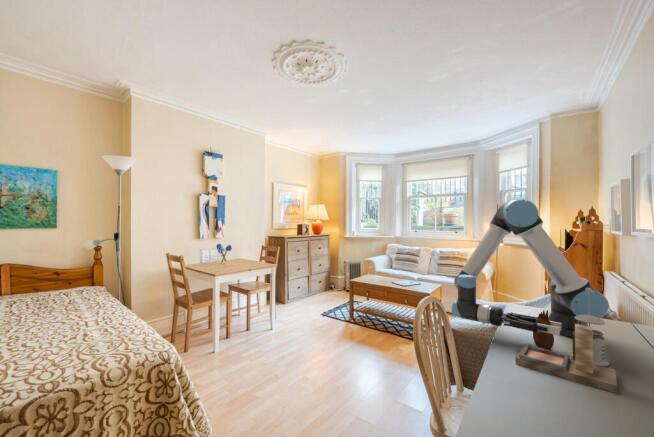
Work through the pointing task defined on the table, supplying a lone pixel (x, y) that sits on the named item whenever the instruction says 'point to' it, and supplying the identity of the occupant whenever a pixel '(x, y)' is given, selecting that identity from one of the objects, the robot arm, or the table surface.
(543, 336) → the wooden figurine
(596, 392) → the table surface
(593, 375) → the wooden tray stand
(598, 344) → the french press
